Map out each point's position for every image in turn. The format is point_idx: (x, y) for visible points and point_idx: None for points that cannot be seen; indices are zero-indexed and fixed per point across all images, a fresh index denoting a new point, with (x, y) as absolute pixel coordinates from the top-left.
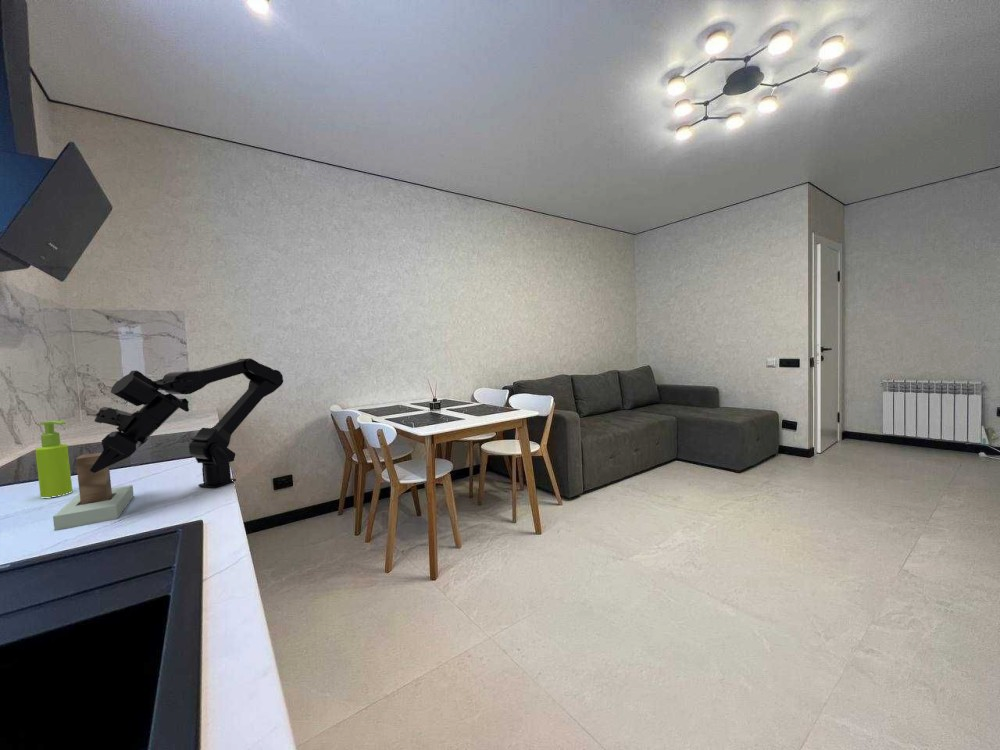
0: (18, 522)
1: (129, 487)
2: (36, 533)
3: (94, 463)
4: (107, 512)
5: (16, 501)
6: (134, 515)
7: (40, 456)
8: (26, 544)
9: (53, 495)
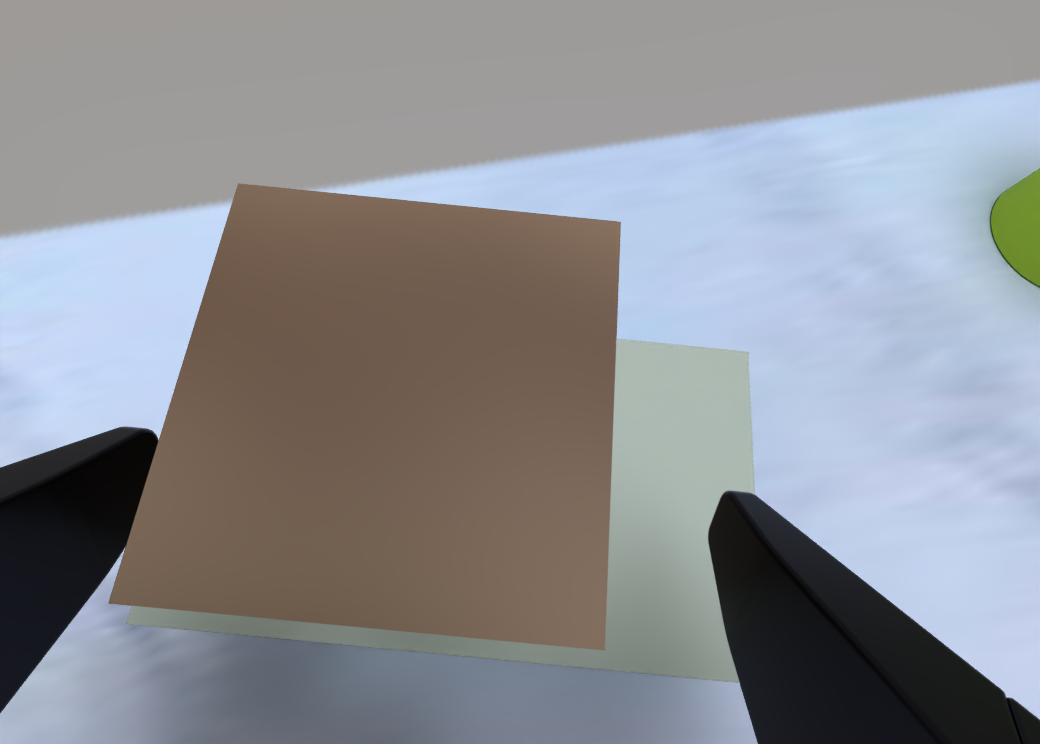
0: (577, 178)
1: (677, 668)
2: None
3: None
4: None
5: (1019, 107)
6: (167, 703)
7: None
8: (134, 264)
9: (1006, 225)
